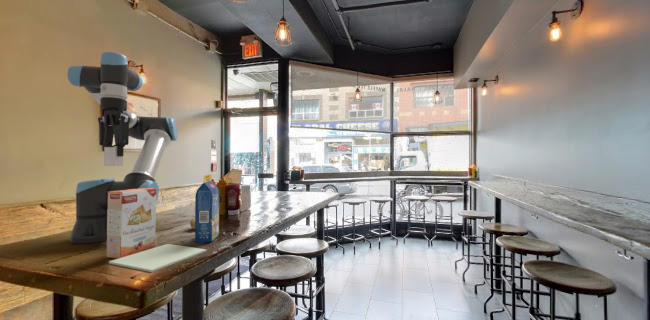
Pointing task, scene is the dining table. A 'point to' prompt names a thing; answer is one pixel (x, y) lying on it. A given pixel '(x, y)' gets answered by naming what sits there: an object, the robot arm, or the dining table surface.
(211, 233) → the blue food package
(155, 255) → the mat
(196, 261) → the dining table surface
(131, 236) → the cracker box
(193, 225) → the onion
